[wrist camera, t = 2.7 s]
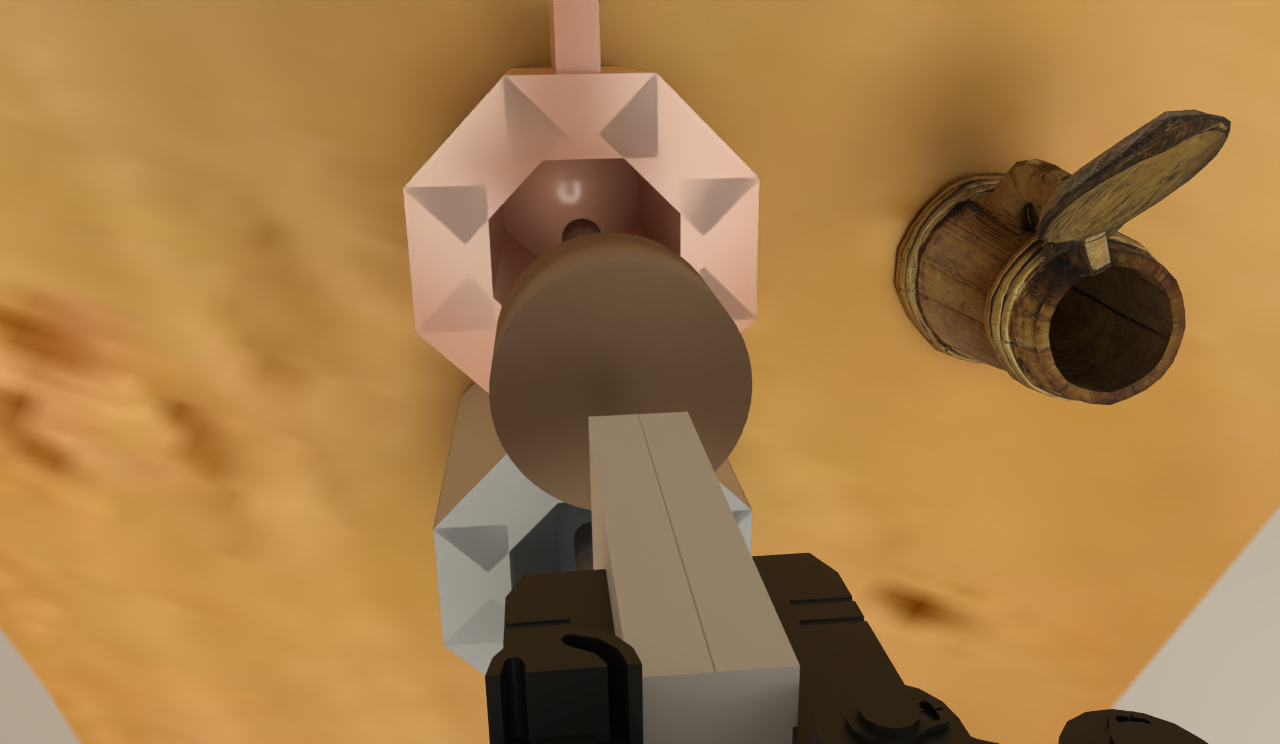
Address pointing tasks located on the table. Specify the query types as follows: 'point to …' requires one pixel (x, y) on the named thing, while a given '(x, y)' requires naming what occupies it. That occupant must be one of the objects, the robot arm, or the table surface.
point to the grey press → (505, 531)
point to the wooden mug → (1058, 266)
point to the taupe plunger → (610, 354)
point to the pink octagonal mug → (571, 188)
